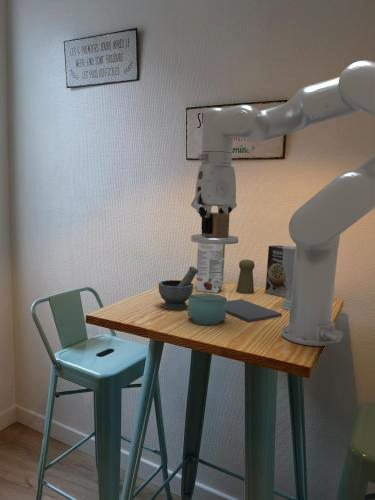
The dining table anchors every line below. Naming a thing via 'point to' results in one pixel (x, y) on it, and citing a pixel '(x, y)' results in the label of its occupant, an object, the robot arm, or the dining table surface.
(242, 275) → the olive pawn
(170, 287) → the mortar and pestle
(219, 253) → the juice carton
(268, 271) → the coffee box
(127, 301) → the dining table surface
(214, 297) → the bowl
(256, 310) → the mat
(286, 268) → the chalice
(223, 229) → the lid
